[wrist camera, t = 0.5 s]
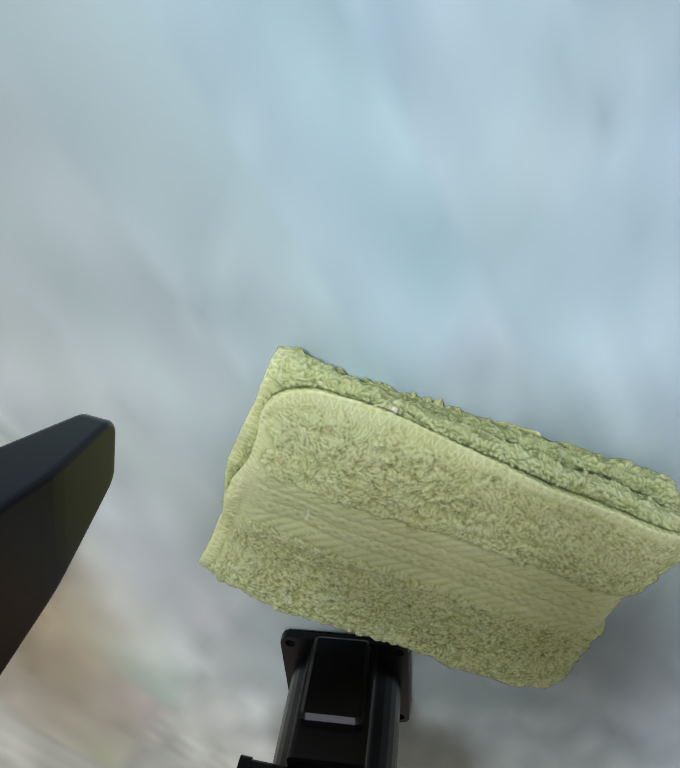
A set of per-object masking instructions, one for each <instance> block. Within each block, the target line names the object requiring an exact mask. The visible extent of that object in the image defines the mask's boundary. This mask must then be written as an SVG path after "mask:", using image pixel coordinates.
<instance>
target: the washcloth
mask: <svg viewBox="0 0 680 768" xmlns="http://www.w3.org/2000/svg"><path fill="white" fill-rule="evenodd" d="M224 486H225V495H224V498H223V511H222V513H221V515H220V517H219V519H218V522H217V525H216V527H215V530H214V533H213V535H212V537H211V538H210V541H209V543H208V545H207V547H206V548H205V550H204V553H203V555H202V556H201V558H200V560H199V563H200V564H201V565H202V566H204V567H207V568H208V569H209V570H210V571H211V572H212V573H213V574H215V575H216V577H217V580H218V581H220V582H225V583H226V584H227V585H229V586H232V587H235V588H240V589H241V590H242V591H243V592H245V593H247V594H249V595H250V596H251V597H254V598H256V599H257V600H259V601H260V602H263V603H269V604H271V605H272V608H273V609H274V610H277V611H281V612H283V613H286V614H290V615H294V616H297V615H301V616H302V617H304V618H306V619H308V620H314V621H318V622H320V623H321V624H327V625H333V626H334V627H336V628H339V629H343V630H347V631H348V632H351V630H352V631H354V632H355V634H356V635H357V636H363V635H364V636H367V635H368V636H370V637H371V638H372V639H373V640H375V641H382V642H386V641H387V642H389V643H390V644H391V645H399V646H401V647H404V648H407V649H409V650H412V651H415V652H416V653H418V654H421V655H430V656H432V657H433V658H435V659H436V660H437V661H438V662H440V663H442V664H444V665H445V666H447V667H449V668H450V669H458V668H459V669H462V670H464V671H466V672H473V673H475V674H476V675H478V676H486V677H490V678H493V679H495V680H497V681H500V682H502V683H505V684H508V685H509V686H511V687H512V686H517V687H522V686H531V687H535V688H536V687H539V688H547V687H550V686H552V685H555V684H556V683H558V682H560V681H562V680H563V679H564V678H565V677H566V676H567V674H568V673H569V672H570V671H571V669H572V668H573V664H574V662H577V661H578V660H579V658H580V656H581V654H584V652H585V651H586V649H589V648H590V643H591V642H592V641H594V640H595V639H596V637H600V636H601V634H602V633H603V631H604V629H605V618H606V617H607V616H608V615H609V614H610V613H611V612H612V611H613V609H614V608H615V607H616V606H617V605H618V604H619V603H620V601H621V600H622V599H623V598H624V597H626V596H630V595H634V594H639V593H641V592H642V591H643V590H644V588H645V587H647V586H648V585H650V584H651V583H654V582H656V581H657V580H658V576H659V575H660V574H663V573H665V572H666V571H667V569H669V568H671V567H673V566H674V565H676V564H677V563H679V562H680V492H679V491H678V490H677V489H676V484H675V482H674V481H673V480H672V479H671V478H669V477H668V476H666V475H664V474H659V473H655V472H654V471H653V470H650V469H647V468H641V467H639V466H636V465H635V464H633V462H632V461H629V460H625V459H617V458H614V459H606V458H604V456H603V455H601V454H595V453H593V452H590V451H587V450H585V449H583V448H580V447H577V446H574V445H571V444H569V443H566V442H552V441H549V440H547V439H546V438H544V437H543V436H542V435H541V434H540V433H539V432H536V431H533V430H529V429H524V428H521V427H519V426H516V425H514V424H511V423H507V422H503V423H502V422H498V421H493V420H491V419H490V418H487V419H485V418H482V417H476V416H474V415H471V414H468V413H465V412H463V411H461V409H460V408H459V407H452V406H443V401H442V400H441V399H437V400H434V401H433V402H432V399H431V398H430V397H424V398H420V397H417V395H416V393H414V392H412V393H411V394H407V393H406V392H403V393H398V392H397V391H396V390H394V389H393V388H392V387H390V386H388V385H387V384H386V383H383V384H382V383H381V382H380V381H377V382H371V381H370V380H369V379H368V378H366V377H365V378H364V379H363V380H361V381H360V380H359V379H357V378H356V377H354V376H348V375H347V374H346V372H345V371H344V370H343V369H342V368H341V367H338V368H334V367H333V366H332V365H331V364H324V363H322V362H321V361H318V360H317V359H315V358H313V357H311V356H309V355H308V354H305V353H304V351H303V350H302V349H301V348H299V347H283V346H278V347H277V351H276V352H275V354H274V355H273V357H272V359H271V360H270V365H269V367H268V369H267V371H266V374H265V376H264V379H263V382H262V384H261V385H260V390H259V393H258V396H257V398H256V400H255V403H254V406H253V407H252V408H251V411H250V413H249V415H248V417H247V418H246V420H245V423H244V425H243V427H242V429H241V430H240V434H239V437H238V438H237V440H236V442H235V444H234V447H233V449H232V451H231V454H230V456H229V458H228V461H227V469H226V472H225V481H224Z"/></svg>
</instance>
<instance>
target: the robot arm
mask: <svg viewBox="0 0 680 768" xmlns="http://www.w3.org/2000/svg"><path fill="white" fill-rule="evenodd" d="M114 456H115V428H114V424H113V423H112V422H111V421H109V420H106V419H102V418H98V417H94V416H91V415H86V414H81V415H77V416H75V417H72V418H70V419H67V420H65V421H62V422H60V423H58V424H55V425H53V426H50V427H48V428H45V429H43V430H41V431H38V432H36V433H33V434H31V435H28V436H26V437H24V438H21V439H19V440H16V441H14V442H11V443H9V444H6V445H4V446H2V447H0V675H1V673H2V672H3V670H4V669H5V667H6V666H7V664H8V663H9V661H10V659H11V658H12V656H13V655H14V653H15V652H16V650H17V649H18V647H19V646H20V644H21V643H22V641H23V640H24V638H25V637H26V635H27V634H28V632H29V631H30V629H31V628H32V626H33V625H34V623H35V622H36V620H37V619H38V617H39V616H40V614H41V613H42V611H43V610H44V608H45V607H46V605H47V603H48V602H49V600H50V599H51V597H52V595H53V594H54V592H55V591H56V589H57V587H58V586H59V584H60V582H61V580H62V578H63V576H64V574H65V573H66V571H67V569H68V567H69V565H70V563H71V561H72V559H73V557H74V555H75V553H76V551H77V549H78V547H79V545H80V543H81V541H82V539H83V537H84V535H85V533H86V531H87V530H88V528H89V526H90V524H91V522H92V520H93V518H94V516H95V514H96V512H97V510H98V508H99V506H100V504H101V502H102V500H103V498H104V496H105V494H106V492H107V490H108V488H109V486H110V484H111V481H112V478H113V473H114ZM281 648H282V654H283V660H284V665H285V671H286V677H287V683H288V689H289V693H288V697H287V702H286V706H285V710H284V715H283V719H282V724H281V728H280V733H279V737H278V742H277V746H276V751H275V755H274V759H273V764H272V763H267V762H263V761H258V760H253V757H250V756H246V755H241V756H240V759H239V762H238V766H237V768H397V752H398V735H399V722H406V721H408V720H409V712H410V650H409V649H407V648H404V647H401V646H399V645H391V644H390V643H389V642H387V641H386V642H382V641H375V640H373V639H372V638H371V637H364V636H352V635H341V634H329V633H317V632H306V631H294V630H287V631H284V632H283V634H282V638H281Z"/></svg>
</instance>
